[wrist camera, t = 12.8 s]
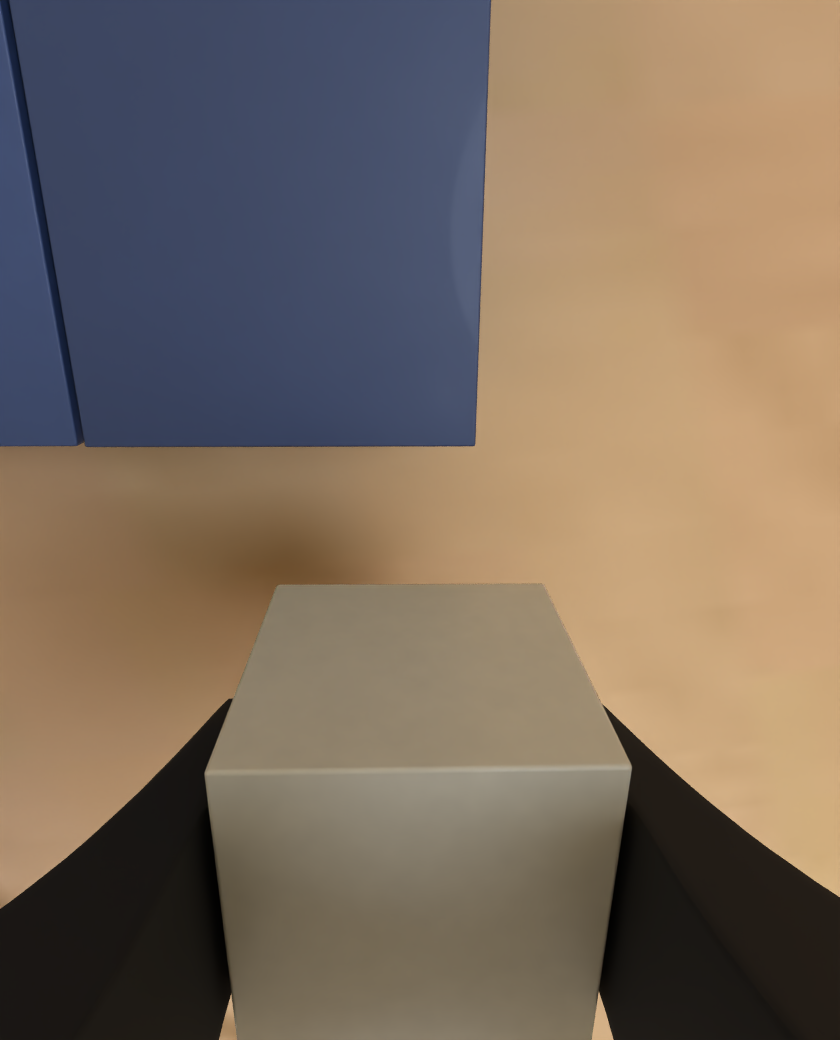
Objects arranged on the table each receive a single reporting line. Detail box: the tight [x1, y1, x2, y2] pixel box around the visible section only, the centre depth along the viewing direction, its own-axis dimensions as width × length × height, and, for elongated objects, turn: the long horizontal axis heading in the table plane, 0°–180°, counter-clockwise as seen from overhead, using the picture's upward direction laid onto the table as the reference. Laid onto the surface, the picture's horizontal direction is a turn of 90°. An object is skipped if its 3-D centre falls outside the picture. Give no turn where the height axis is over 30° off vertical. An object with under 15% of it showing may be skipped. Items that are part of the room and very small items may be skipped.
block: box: [204, 584, 632, 1040], centre depth 10 cm, size 4×4×4 cm
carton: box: [8, 0, 491, 447], centre depth 12 cm, size 12×14×6 cm
